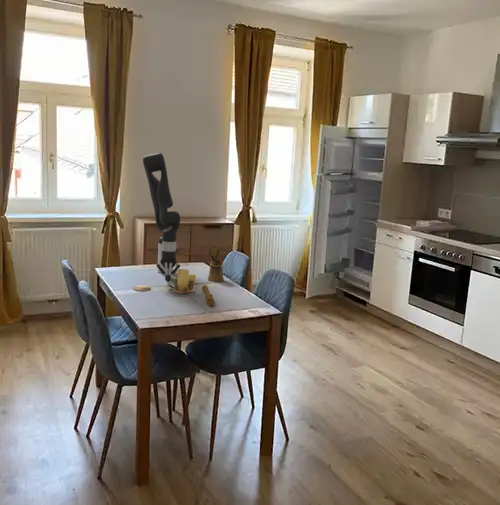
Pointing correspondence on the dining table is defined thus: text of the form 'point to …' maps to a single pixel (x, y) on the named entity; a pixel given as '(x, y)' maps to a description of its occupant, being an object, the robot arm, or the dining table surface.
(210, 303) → the tap handle
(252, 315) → the dining table surface
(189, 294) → the stand base
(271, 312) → the dining table surface
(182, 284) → the cylinder with side tabs
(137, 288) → the coaster
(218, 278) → the wooden mug
